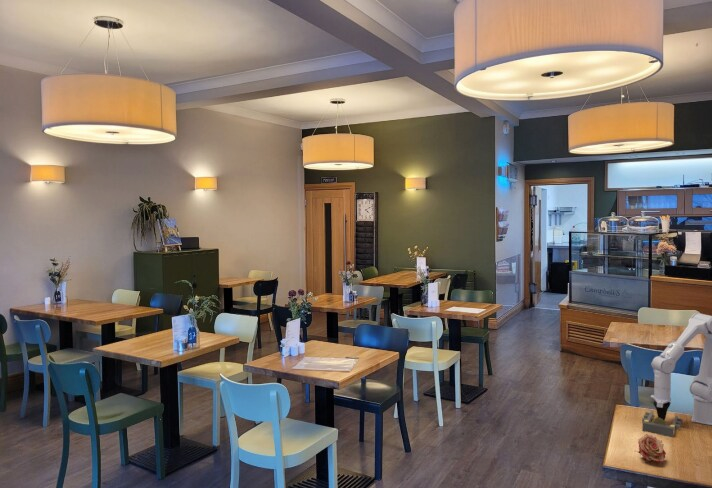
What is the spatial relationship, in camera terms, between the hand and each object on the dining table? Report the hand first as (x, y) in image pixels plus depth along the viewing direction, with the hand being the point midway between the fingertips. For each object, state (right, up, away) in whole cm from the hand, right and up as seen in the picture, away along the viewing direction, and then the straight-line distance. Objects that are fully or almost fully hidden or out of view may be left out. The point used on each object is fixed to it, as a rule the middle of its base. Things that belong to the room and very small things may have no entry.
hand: (661, 419), depth 218 cm
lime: (-4, -3, -5) cm, 7 cm away
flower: (-21, -4, -31) cm, 38 cm away
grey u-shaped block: (-1, -2, -1) cm, 2 cm away
